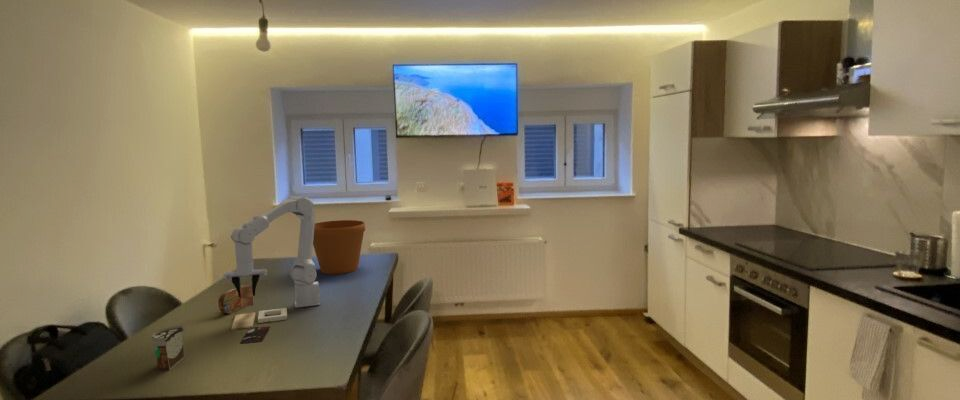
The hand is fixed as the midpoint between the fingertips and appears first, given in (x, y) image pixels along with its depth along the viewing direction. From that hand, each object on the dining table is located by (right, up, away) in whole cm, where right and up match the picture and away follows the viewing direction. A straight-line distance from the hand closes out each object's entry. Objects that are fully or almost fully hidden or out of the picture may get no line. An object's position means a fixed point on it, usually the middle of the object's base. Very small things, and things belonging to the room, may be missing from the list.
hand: (247, 295), depth 199 cm
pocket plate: (+8, -9, +5) cm, 13 cm away
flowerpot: (+14, -1, +78) cm, 79 cm away
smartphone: (+9, -12, -14) cm, 20 cm away
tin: (-12, -9, +15) cm, 21 cm away
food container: (-8, -14, -37) cm, 40 cm away
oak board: (-1, -10, 0) cm, 10 cm away
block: (0, -3, 0) cm, 3 cm away
